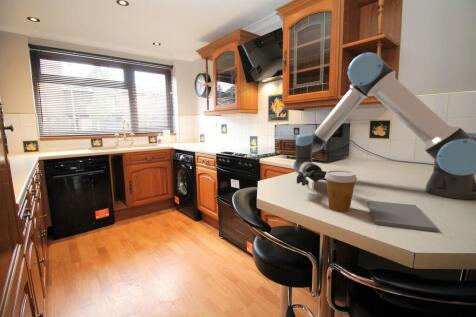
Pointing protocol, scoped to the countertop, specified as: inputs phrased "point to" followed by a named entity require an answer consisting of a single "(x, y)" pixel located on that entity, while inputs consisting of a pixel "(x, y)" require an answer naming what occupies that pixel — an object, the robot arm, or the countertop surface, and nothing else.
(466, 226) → the countertop surface
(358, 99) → the robot arm
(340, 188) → the disposable coffee cup
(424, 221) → the drip mat
